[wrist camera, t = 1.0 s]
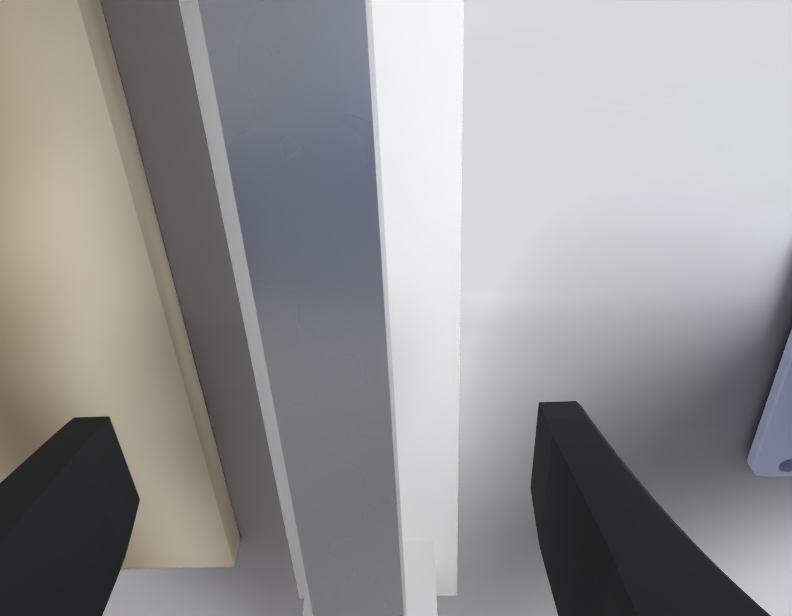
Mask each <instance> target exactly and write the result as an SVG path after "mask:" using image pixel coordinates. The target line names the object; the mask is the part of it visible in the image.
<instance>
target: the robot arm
mask: <svg viewBox="0 0 792 616" xmlns="http://www.w3.org/2000/svg"><path fill="white" fill-rule="evenodd" d="M785 460H786V461H785ZM747 463H748V464H749V466H750V468H751V469H752V471H753V473H754V474H755V475H757V476H760V477H792V329H791V332H790V335H789V338H788V341H787V344H786V347H785V349H784V352H783V355H782V358H781V361H780V364H779V367H778V370H777V373H776V376H775V379H774V382H773V385H772V388H771V391H770V394H769V397H768V399H767V402H766V405H765V408H764V411H763V414H762V417H761V420H760V423H759V426H758V429H757V432H756V435H755V438H754V441H753V444H752V447H751V449H750V452H749V455H748V461H747ZM531 494H532V500H533V507H534V514H535V520H536V527H537V533H538V539H539V545H540V549H541V553H542V557H543V560H544V564H545V568H546V572H547V575H548V579H549V583H550V586H551V590H552V594H553V597H554V601H555V605H556V608H557V612H558V616H770V615H769V614H768V613H767V612H766V611H765V610H764V609H762V608H761V607H760V606H759V605H758V604H757V603H756V602H755V601H753V600H752V599H751V598H750V597H749V596H748V595H747V594H746V593H745V592H744V591H743V590H742V589H741V588H739V587H738V586H737V585H736V584H735V583H734V582H733V581H732V580H731V579H730V578H729V577H728V576H727V575H726V574H725V573H724V572H723V571H721V570H720V569H719V568H718V567H717V566H716V565H715V564H714V563H713V562H712V561H711V560H710V559H709V558H708V557H707V556H706V555H705V554H704V553H703V552H702V551H701V550H700V549H699V547H698V546H697V545H696V544H695V543H694V542H693V541H692V540H691V539H690V538H689V537H688V536H687V535H686V534H685V533H684V532H683V531H682V529H681V528H680V527H679V526H678V525H677V524H676V523H675V522H674V521H673V520H672V519H671V518H670V516H669V515H668V514H667V513H666V512H665V511H664V510H663V509H662V508H661V506H660V505H659V504H658V503H657V502H656V501H655V499H654V498H653V497H652V496H651V495H650V494H649V492H648V491H647V490H646V489H645V488H644V486H643V485H642V484H641V483H640V482H639V481H638V479H637V478H636V477H635V476H634V475H633V473H632V472H631V471H630V470H629V469H628V467H627V466H626V465H625V464H624V462H623V461H622V460H621V458H620V457H619V456H618V455H617V453H616V452H615V451H614V450H613V448H612V447H611V446H610V444H609V443H608V442H607V440H606V439H605V438H604V436H603V435H602V434H601V432H600V431H599V430H598V428H597V427H596V426H595V424H594V423H593V422H592V420H591V419H590V417H589V416H588V415H587V413H586V412H585V410H584V409H583V408H582V406H581V405H579V404H578V403H577V402H576V401H569V402H539V407H538V417H537V428H536V438H535V448H534V459H533V469H532V479H531ZM139 502H140V498H139V495H138V492H137V490H136V487H135V484H134V482H133V479H132V476H131V473H130V471H129V468H128V465H127V463H126V460H125V457H124V454H123V452H122V449H121V446H120V444H119V441H118V438H117V436H116V433H115V430H114V427H113V425H112V422H111V419H110V417H109V416H102V417H74V418H73V419H71V420H70V421H69V422H68V423H67V424H65V425H64V426H63V427H62V428H61V429H60V430H58V431H57V432H56V433H55V434H54V435H53V436H52V437H50V438H49V439H48V440H47V441H46V442H45V443H44V444H43V445H42V446H40V447H39V448H38V449H37V450H36V451H35V452H34V453H33V454H32V455H31V456H29V457H28V458H27V459H26V460H25V461H24V462H23V463H22V464H21V465H19V466H18V467H17V468H16V469H15V470H14V471H13V472H12V473H11V474H10V475H8V476H7V477H6V478H5V479H4V480H3V481H2V482H1V483H0V616H102V615H103V612H104V610H105V607H106V605H107V602H108V600H109V597H110V595H111V592H112V590H113V587H114V585H115V582H116V580H117V577H118V574H119V572H120V569H121V567H122V564H123V561H124V559H125V556H126V552H127V549H128V545H129V541H130V538H131V534H132V531H133V526H134V522H135V518H136V514H137V510H138V506H139Z"/></svg>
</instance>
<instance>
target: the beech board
mask: <svg viewBox="0 0 792 616" xmlns="http://www.w3.org/2000/svg"><path fill="white" fill-rule="evenodd" d="M102 416H109V417H110V419H111V422H112V425H113V427H114V430H115V433H116V436H117V438H118V441H119V444H120V446H121V449H122V452H123V454H124V457H125V460H126V463H127V465H128V468H129V471H130V473H131V476H132V479H133V482H134V484H135V487H136V490H137V492H138V495H139V498H140V502H139V506H138V510H137V514H136V518H135V522H134V526H133V531H132V534H131V538H130V541H129V545H128V549H127V552H126V556H125V559H124V561H123V564H122V567H121V569H162V568H208V567H235V563H236V559H237V555H238V551H239V547H240V542H241V539H240V535H239V531H238V527H237V524H236V520H235V516H234V512H233V508H232V504H231V500H230V497H229V493H228V489H227V485H226V481H225V477H224V474H223V470H222V466H221V462H220V458H219V454H218V451H217V447H216V443H215V439H214V435H213V431H212V428H211V424H210V420H209V416H208V412H207V408H206V405H205V401H204V397H203V393H202V389H201V385H200V382H199V378H198V374H197V370H196V366H195V362H194V359H193V355H192V351H191V347H190V343H189V339H188V336H187V332H186V328H185V324H184V320H183V316H182V313H181V309H180V305H179V301H178V297H177V293H176V290H175V286H174V282H173V278H172V274H171V270H170V267H169V263H168V259H167V255H166V251H165V247H164V244H163V240H162V236H161V232H160V228H159V224H158V220H157V217H156V213H155V209H154V205H153V201H152V197H151V194H150V190H149V186H148V182H147V178H146V174H145V171H144V167H143V163H142V159H141V155H140V151H139V148H138V144H137V140H136V136H135V132H134V128H133V125H132V121H131V117H130V113H129V109H128V105H127V102H126V98H125V94H124V90H123V86H122V82H121V79H120V75H119V71H118V67H117V63H116V59H115V56H114V52H113V48H112V44H111V40H110V36H109V33H108V29H107V25H106V21H105V17H104V13H103V10H102V6H101V2H100V0H0V483H1V482H2V481H3V480H4V479H5V478H6V477H7V476H8V475H10V474H11V473H12V472H13V471H14V470H15V469H16V468H17V467H18V466H19V465H21V464H22V463H23V462H24V461H25V460H26V459H27V458H28V457H29V456H31V455H32V454H33V453H34V452H35V451H36V450H37V449H38V448H39V447H40V446H42V445H43V444H44V443H45V442H46V441H47V440H48V439H49V438H50V437H52V436H53V435H54V434H55V433H56V432H57V431H58V430H60V429H61V428H62V427H63V426H64V425H65V424H67V423H68V422H69V421H70V420H71V419H73V418H74V417H102Z"/></svg>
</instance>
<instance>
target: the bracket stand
mask: <svg viewBox="0 0 792 616" xmlns="http://www.w3.org/2000/svg"><path fill="white" fill-rule="evenodd" d="M178 1H179V6H180V11H181V16H182V21H183V26H184V31H185V36H186V40H187V45H188V50H189V55H190V60H191V65H192V70H193V75H194V80H195V85H196V90H197V95H198V100H199V105H200V110H201V115H202V120H203V125H204V130H205V134H206V139H207V144H208V149H209V154H210V159H211V164H212V169H213V174H214V179H215V184H216V189H217V194H218V199H219V204H220V209H221V214H222V219H223V224H224V228H225V233H226V238H227V243H228V248H229V253H230V258H231V263H232V268H233V273H234V278H235V283H236V288H237V293H238V298H239V303H240V308H241V313H242V318H243V322H244V327H245V332H246V337H247V342H248V347H249V352H250V357H251V362H252V367H253V372H254V377H255V382H256V387H257V392H258V397H259V402H260V407H261V411H262V416H263V421H264V426H265V431H266V436H267V441H268V446H269V451H270V456H271V461H272V466H273V471H274V476H275V481H276V486H277V491H278V496H279V501H280V505H281V510H282V515H283V520H284V525H285V530H286V535H287V540H288V545H289V550H290V555H291V560H292V565H293V570H294V575H295V580H296V585H297V590H298V595H299V599H304V605H303V613H302V616H313V612H312V606H311V601H310V596H309V590H308V585H307V580H306V574H305V569H304V564H303V558H302V553H301V548H300V542H299V537H298V532H297V526H296V521H295V516H294V510H293V505H292V500H291V494H290V489H289V484H288V479H287V473H286V468H285V463H284V457H283V452H282V447H281V441H280V436H279V431H278V425H277V420H276V415H275V409H274V404H273V399H272V393H271V388H270V383H269V377H268V372H267V367H266V361H265V356H264V351H263V345H262V340H261V335H260V329H259V324H258V319H257V313H256V308H255V303H254V297H253V292H252V287H251V281H250V276H249V271H248V265H247V260H246V255H245V249H244V244H243V239H242V233H241V228H240V223H239V217H238V212H237V207H236V201H235V196H234V191H233V185H232V180H231V175H230V169H229V164H228V159H227V153H226V148H225V143H224V137H223V132H222V127H221V121H220V116H219V111H218V105H217V100H216V95H215V89H214V84H213V79H212V74H211V68H210V63H209V58H208V52H207V47H206V42H205V36H204V31H203V26H202V20H201V15H200V10H199V4H198V0H178ZM371 1H372V18H373V36H374V53H375V70H376V88H377V105H378V122H379V140H380V157H381V174H382V191H383V209H384V226H385V243H386V261H387V278H388V295H389V313H390V330H391V347H392V365H393V382H394V399H395V417H396V434H397V451H398V469H399V486H400V503H401V521H402V538H403V555H404V573H405V590H406V607H407V616H437V596H457V554H458V465H459V377H460V289H461V200H462V112H463V24H464V0H371Z"/></svg>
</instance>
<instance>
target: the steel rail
mask: <svg viewBox="0 0 792 616" xmlns="http://www.w3.org/2000/svg"><path fill="white" fill-rule="evenodd" d="M198 4H199V10H200V15H201V20H202V26H203V31H204V36H205V42H206V47H207V52H208V58H209V63H210V68H211V74H212V79H213V84H214V89H215V95H216V100H217V105H218V111H219V116H220V121H221V127H222V132H223V137H224V143H225V148H226V153H227V159H228V164H229V169H230V175H231V180H232V185H233V191H234V196H235V201H236V207H237V212H238V217H239V223H240V228H241V233H242V239H243V244H244V249H245V255H246V260H247V265H248V271H249V276H250V281H251V287H252V292H253V297H254V303H255V308H256V313H257V319H258V324H259V329H260V335H261V340H262V345H263V351H264V356H265V361H266V367H267V372H268V377H269V383H270V388H271V393H272V399H273V404H274V409H275V415H276V420H277V425H278V431H279V436H280V441H281V447H282V452H283V457H284V463H285V468H286V473H287V479H288V484H289V489H290V494H291V500H292V505H293V510H294V516H295V521H296V526H297V532H298V537H299V542H300V548H301V553H302V558H303V564H304V569H305V574H306V580H307V585H308V590H309V596H310V601H311V606H312V612H313V616H407V607H406V590H405V573H404V555H403V538H402V521H401V503H400V486H399V469H398V451H397V434H396V417H395V399H394V382H393V365H392V347H391V330H390V313H389V295H388V278H387V261H386V243H385V226H384V209H383V191H382V174H381V157H380V140H379V122H378V105H377V88H376V70H375V53H374V36H373V18H372V1H371V0H198Z"/></svg>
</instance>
